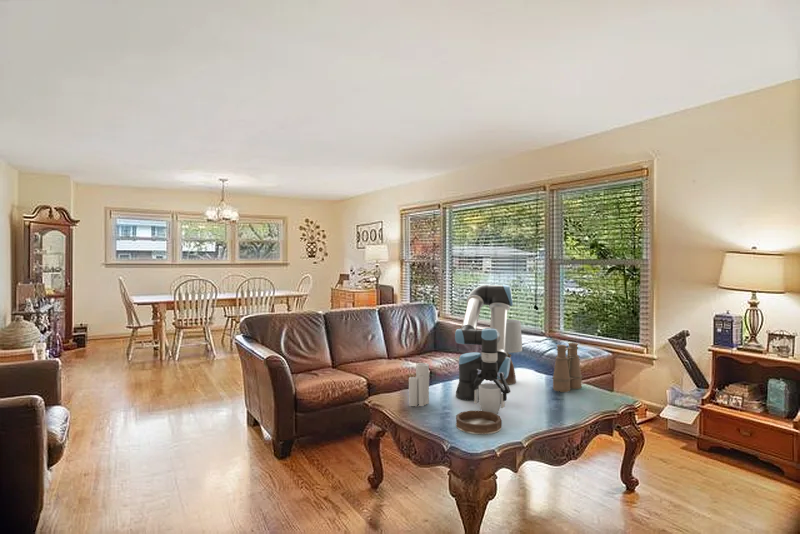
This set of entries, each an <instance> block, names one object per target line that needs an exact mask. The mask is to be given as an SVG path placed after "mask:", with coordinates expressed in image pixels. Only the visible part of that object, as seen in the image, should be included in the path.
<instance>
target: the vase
mask: <svg viewBox="0 0 800 534" xmlns="http://www.w3.org/2000/svg"><path fill="white" fill-rule="evenodd" d="M418 404H419V405H418ZM426 404H428V405H429V404H430V364H429V363H426V362H425V363H424V362H420V363H416V364H415V376H410V377H408V406H409V407H411V406H415V407H419V406H423V407H424V406H427V405H426ZM417 405H418V406H417Z"/></svg>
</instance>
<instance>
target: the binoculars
mask: <svg viewBox="0 0 800 534" xmlns="http://www.w3.org/2000/svg"><path fill="white" fill-rule="evenodd" d="M578 345H579V343H578V342H577V343H576V342H568V347H567V345H566V344H557V345H556V347H557V348H556V351H557V352H556V353H557V356H556V357H555V358H554V359H555V363H554V368H553V369H554V370H553V376H552V377H551V379H552V390H553V391H556V392H559V391H560V392H561V393H566V392H567V393H568V391H569V392H571V389H572V390H575V389H576V390H579V389H582V378H583V375H582V370H581V364H580V356H579V355H578V349H579V347H578ZM566 352H567V353H566Z"/></svg>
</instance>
